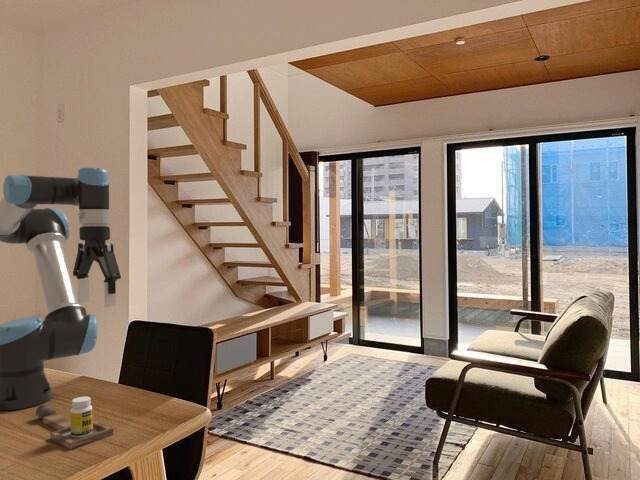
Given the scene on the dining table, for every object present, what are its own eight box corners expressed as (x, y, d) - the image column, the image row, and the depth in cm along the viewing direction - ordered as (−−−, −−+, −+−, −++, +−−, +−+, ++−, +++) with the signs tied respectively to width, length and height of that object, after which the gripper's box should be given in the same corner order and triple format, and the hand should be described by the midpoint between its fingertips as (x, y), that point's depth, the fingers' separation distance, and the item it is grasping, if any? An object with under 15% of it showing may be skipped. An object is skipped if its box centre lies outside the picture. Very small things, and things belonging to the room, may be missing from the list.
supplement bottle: (84, 439, 116) (83, 403, 115) (66, 437, 117) (65, 402, 116) (97, 430, 120) (96, 396, 120) (80, 429, 121) (79, 395, 121)
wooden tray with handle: (21, 423, 127) (21, 410, 127) (61, 411, 135) (61, 399, 135) (71, 449, 111) (71, 435, 111) (113, 434, 119) (113, 421, 119)
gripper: (58, 226, 139) (60, 301, 140) (106, 225, 124) (108, 310, 125) (84, 225, 145) (86, 298, 146) (133, 225, 130) (135, 306, 131)
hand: (96, 304), depth 136 cm, fingers open, 13 cm apart
